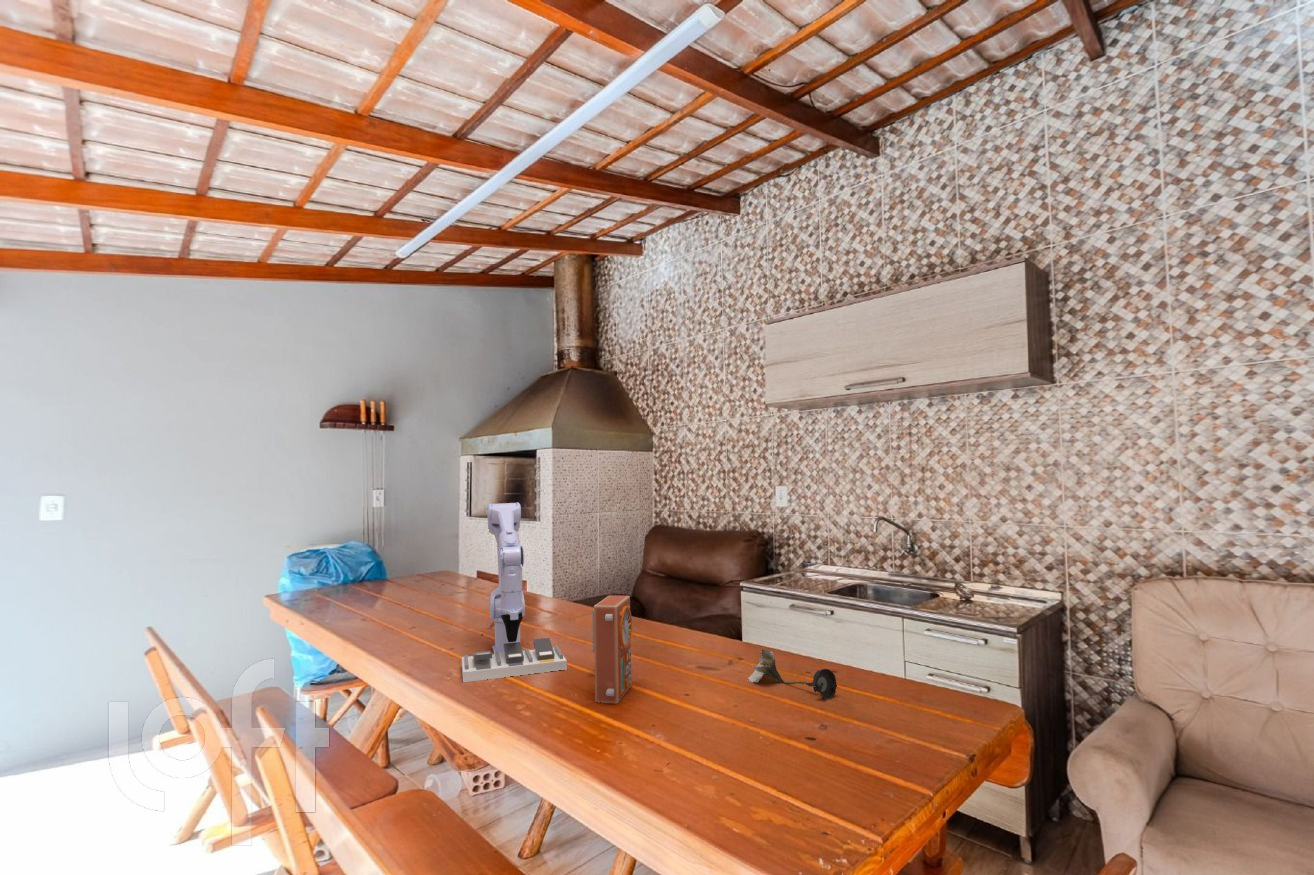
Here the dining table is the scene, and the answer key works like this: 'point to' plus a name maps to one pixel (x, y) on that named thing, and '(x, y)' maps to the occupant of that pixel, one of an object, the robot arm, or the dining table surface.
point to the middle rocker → (513, 652)
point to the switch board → (510, 666)
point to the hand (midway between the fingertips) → (512, 641)
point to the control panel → (612, 648)
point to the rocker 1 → (482, 655)
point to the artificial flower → (821, 681)
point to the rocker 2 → (543, 649)
